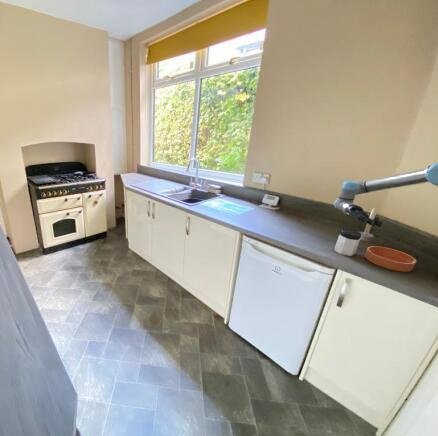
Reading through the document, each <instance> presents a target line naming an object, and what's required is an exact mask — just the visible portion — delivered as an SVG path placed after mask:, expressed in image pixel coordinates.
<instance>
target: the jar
mask: <svg viewBox="0 0 438 436" xmlns="http://www.w3.org/2000/svg"><path fill="white" fill-rule="evenodd" d="M359 232H360V231H357V230H353V229H348V228H343V229H341V231H340V234H338V238H337V240H336V243H335V246H334V249H333V250H334V251H335V252H337V253H338V254H340V255H344V256H350V257H352V256H354V255H356V252H357V249H358V246H359V245H360V241H361V240H360V237H361V233H359Z"/></svg>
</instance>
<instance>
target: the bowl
mask: <svg viewBox="0 0 438 436" xmlns="http://www.w3.org/2000/svg"><path fill="white" fill-rule="evenodd" d="M364 258H365V259H366V260H367V261H369V262H370V263H372V264H374V265H377V266H379V267H381V268H385V269H389V270H392V271H397V272H405V273H406V272H412V271H413V270H414V269H415V266H416V264H417V262H418V261H417V259H416V258H415V257H413V256H412V255H410V254H408V253H406V252H403V251H401V250H397V249H394V248H390V247H386V246H380V245H379V246H378V245H371V246H368V247H367V248H366V250H365V253H364Z"/></svg>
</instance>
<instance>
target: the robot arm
mask: <svg viewBox="0 0 438 436" xmlns="http://www.w3.org/2000/svg"><path fill="white" fill-rule="evenodd" d="M427 183H430V184H431V185H434V186H436V187H438V161H437V162H435V163H433V164H432V165H428V166H427V167H425V168H423V169H416V170H413V171H408V172H404V173H397V174H393V175H389V176H383V177H379V178H375V179H369V180H365V181H359V182H358V181H355V180H354V181H353V180H344V181H343V184H342V186H341V190H340V194H339V197H338V198H337V199H335V201H334V202H333V206H334V208H335V209H337V210H338V211H339V212H341V213H343V214H345V216H347V217H350V218H352V219H354V220H356V221H358V222H360V221H361V223H362V224H367V223H368V224H370V225H371V227H375V226H377V227H378V228H381V227H382V224H383V221H381V220H380V217H379V216H377V214H376V215H375V218H374V220H372V219H370V218H369V217H370V214H371V212H369V213H368V212H367V211H364V209H363V207H361V206H360V205H358V204H356V203H354V201H355V199H356V196H357V195H362V194H368V193H373V192H374V193H375V192H379V191H385V190H391V189H398V188H405V187H410V186H415V185H422V184H427Z"/></svg>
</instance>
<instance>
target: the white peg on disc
mask: <svg viewBox="0 0 438 436" xmlns="http://www.w3.org/2000/svg"><path fill="white" fill-rule="evenodd" d="M377 212H378V209H377V208H376V207H373V208H372V209H371V212H370V213H371V214H370V217H369V218H370V219H372V220H374V218H375V215H376V216H377ZM371 229H372V226H371V225H370V224H368V223H366V225H365V227H364V231H358V232H359V233H361V237H360V241H362V242H368V243H370V242H372V241H373V239H374V234H372V233H370V231H371Z"/></svg>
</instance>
